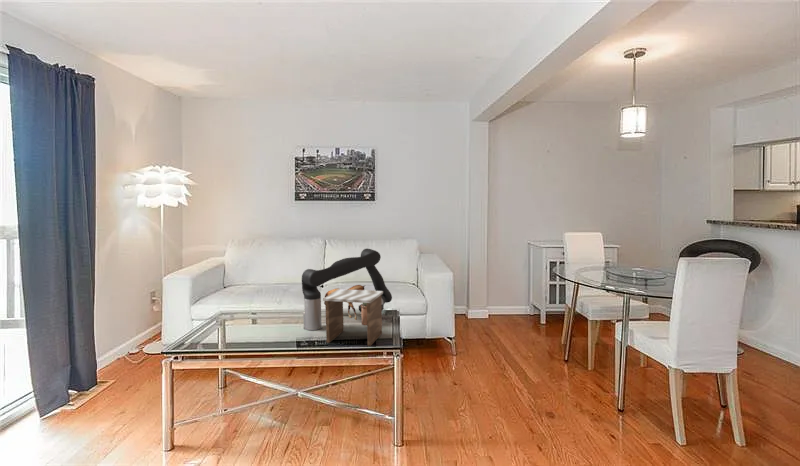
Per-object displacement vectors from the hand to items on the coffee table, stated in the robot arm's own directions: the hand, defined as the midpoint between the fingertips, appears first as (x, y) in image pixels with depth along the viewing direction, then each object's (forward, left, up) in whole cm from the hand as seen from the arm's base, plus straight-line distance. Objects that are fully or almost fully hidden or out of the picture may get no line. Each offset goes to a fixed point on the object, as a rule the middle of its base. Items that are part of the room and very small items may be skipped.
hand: (367, 310), depth 276 cm
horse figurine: (-19, +13, -8) cm, 24 cm away
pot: (0, -1, -8) cm, 8 cm away
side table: (+2, -27, -8) cm, 28 cm away
